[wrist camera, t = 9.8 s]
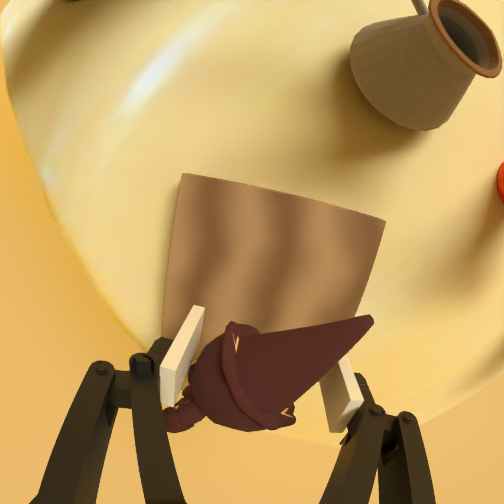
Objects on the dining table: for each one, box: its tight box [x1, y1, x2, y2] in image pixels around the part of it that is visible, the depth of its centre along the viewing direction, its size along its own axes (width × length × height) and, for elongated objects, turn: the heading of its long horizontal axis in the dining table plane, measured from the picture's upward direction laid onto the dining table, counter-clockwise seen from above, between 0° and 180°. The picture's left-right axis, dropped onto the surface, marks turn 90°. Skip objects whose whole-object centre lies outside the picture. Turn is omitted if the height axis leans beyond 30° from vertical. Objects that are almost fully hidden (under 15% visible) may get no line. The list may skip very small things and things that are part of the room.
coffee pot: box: [350, 0, 502, 131], centre depth 12 cm, size 21×12×15 cm, turn 30°
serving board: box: [162, 173, 386, 382], centre depth 25 cm, size 18×18×2 cm
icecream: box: [162, 314, 374, 433], centre depth 15 cm, size 7×7×15 cm
